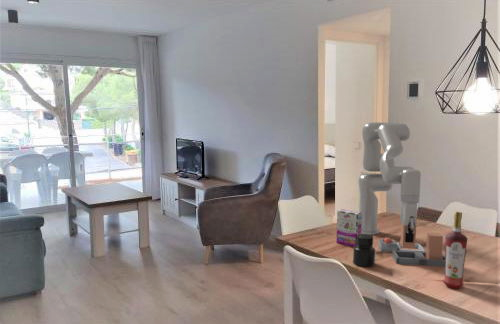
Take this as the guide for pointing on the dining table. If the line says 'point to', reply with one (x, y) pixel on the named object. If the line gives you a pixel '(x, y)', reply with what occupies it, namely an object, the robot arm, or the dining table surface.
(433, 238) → the block
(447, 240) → the liquor
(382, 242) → the grey square holder
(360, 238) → the ink bottle
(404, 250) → the light grey square frame
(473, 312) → the dining table surface
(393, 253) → the grey two-slot rack
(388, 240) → the red egg shape
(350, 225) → the candy bar box
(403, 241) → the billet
